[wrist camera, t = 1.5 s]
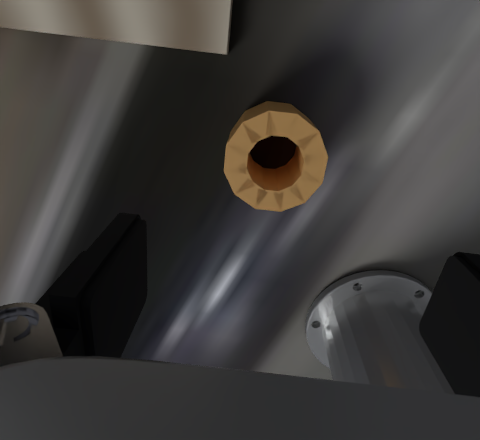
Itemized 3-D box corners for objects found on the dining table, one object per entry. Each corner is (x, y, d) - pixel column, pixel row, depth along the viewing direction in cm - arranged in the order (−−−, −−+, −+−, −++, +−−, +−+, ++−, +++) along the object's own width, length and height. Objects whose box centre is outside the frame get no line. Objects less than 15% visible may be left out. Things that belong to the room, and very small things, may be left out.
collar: (322, 107, 25) (336, 118, 21) (305, 190, 28) (315, 215, 24) (234, 97, 25) (229, 105, 21) (226, 180, 28) (220, 204, 24)
